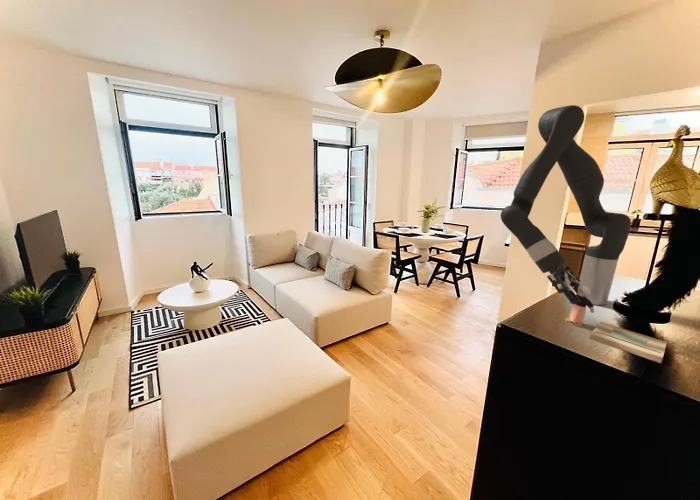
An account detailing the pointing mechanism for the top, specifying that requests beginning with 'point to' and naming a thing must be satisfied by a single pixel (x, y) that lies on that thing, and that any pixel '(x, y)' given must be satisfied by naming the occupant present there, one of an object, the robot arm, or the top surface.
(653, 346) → the oak board
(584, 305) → the grandmother figurine
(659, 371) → the top surface
